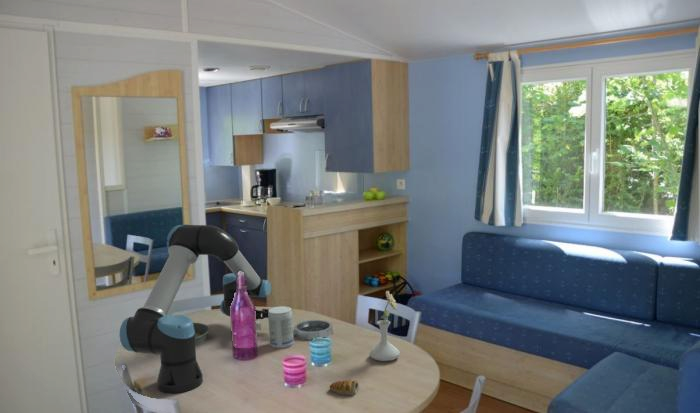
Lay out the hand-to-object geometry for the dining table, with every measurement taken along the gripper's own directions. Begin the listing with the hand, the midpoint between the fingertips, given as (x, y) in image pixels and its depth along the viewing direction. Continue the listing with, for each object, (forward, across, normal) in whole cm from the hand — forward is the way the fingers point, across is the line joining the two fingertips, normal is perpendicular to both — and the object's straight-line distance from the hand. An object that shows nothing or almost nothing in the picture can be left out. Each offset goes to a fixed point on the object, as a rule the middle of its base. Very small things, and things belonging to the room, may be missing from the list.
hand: (273, 322), depth 236 cm
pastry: (+56, +12, -8) cm, 58 cm away
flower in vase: (+47, -17, -8) cm, 50 cm away
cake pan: (-31, +26, -8) cm, 41 cm away
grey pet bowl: (+5, -17, -8) cm, 19 cm away
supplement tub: (+6, 0, -8) cm, 10 cm away
